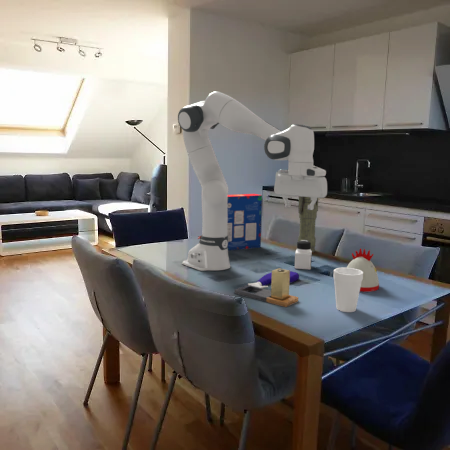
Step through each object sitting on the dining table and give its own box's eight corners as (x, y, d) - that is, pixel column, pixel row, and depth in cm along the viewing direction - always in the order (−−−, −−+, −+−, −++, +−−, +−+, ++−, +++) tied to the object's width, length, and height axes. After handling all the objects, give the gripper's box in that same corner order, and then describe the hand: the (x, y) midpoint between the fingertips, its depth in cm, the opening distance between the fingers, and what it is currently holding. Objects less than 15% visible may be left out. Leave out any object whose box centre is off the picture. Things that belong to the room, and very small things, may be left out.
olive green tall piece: (320, 251, 240) (323, 183, 234) (305, 254, 233) (308, 184, 227) (307, 248, 247) (310, 182, 241) (292, 250, 240) (294, 183, 234)
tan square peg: (270, 301, 162) (271, 270, 160) (277, 298, 165) (278, 267, 163) (281, 304, 159) (283, 272, 157) (288, 300, 162) (289, 270, 160)
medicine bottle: (310, 269, 203) (312, 243, 201) (294, 268, 205) (295, 242, 203) (311, 265, 210) (312, 239, 208) (295, 264, 212) (296, 239, 210)
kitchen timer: (373, 294, 171) (376, 254, 169) (336, 287, 179) (339, 249, 176) (382, 284, 183) (385, 247, 180) (348, 279, 190) (350, 243, 188)
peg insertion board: (234, 293, 169) (234, 289, 169) (247, 288, 175) (247, 284, 175) (286, 307, 156) (286, 302, 155) (298, 301, 162) (298, 297, 162)
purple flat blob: (280, 268, 195) (241, 280, 178) (302, 273, 188) (263, 287, 171) (280, 275, 196) (241, 288, 179) (301, 280, 189) (263, 294, 171)
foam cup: (328, 304, 159) (330, 267, 157) (354, 303, 160) (356, 267, 158) (337, 314, 150) (339, 275, 148) (364, 313, 151) (367, 275, 148)
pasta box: (252, 244, 254) (254, 193, 249) (260, 247, 247) (262, 195, 242) (206, 248, 242) (207, 195, 237) (213, 252, 235) (214, 197, 230)
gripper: (271, 169, 170) (270, 206, 172) (321, 171, 158) (319, 212, 160) (280, 168, 175) (279, 205, 177) (330, 171, 162) (328, 210, 165)
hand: (299, 208), depth 168 cm, fingers open, 8 cm apart
